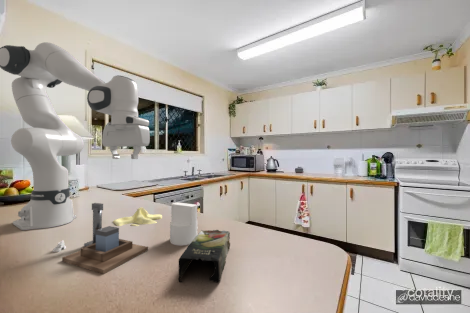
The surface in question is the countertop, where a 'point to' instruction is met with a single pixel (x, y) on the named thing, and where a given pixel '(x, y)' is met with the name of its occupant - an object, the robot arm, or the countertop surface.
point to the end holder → (105, 256)
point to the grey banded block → (107, 238)
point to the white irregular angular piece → (59, 246)
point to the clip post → (96, 221)
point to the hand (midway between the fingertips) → (124, 158)
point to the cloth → (138, 218)
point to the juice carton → (207, 251)
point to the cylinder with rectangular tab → (183, 223)
